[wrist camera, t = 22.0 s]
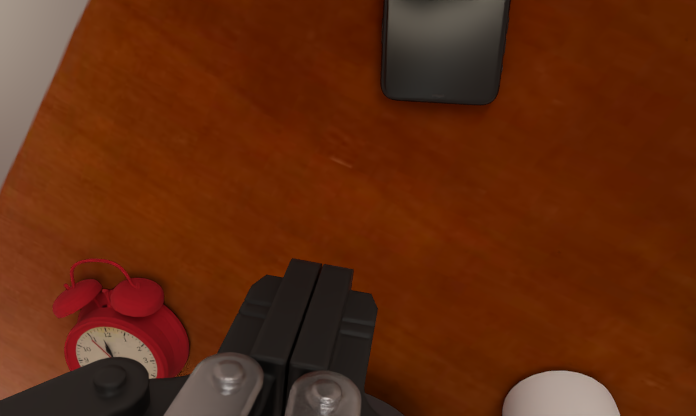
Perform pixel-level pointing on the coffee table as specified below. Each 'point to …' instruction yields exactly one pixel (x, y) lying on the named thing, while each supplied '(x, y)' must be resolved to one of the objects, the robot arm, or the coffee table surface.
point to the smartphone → (443, 50)
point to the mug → (559, 396)
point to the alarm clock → (122, 324)
